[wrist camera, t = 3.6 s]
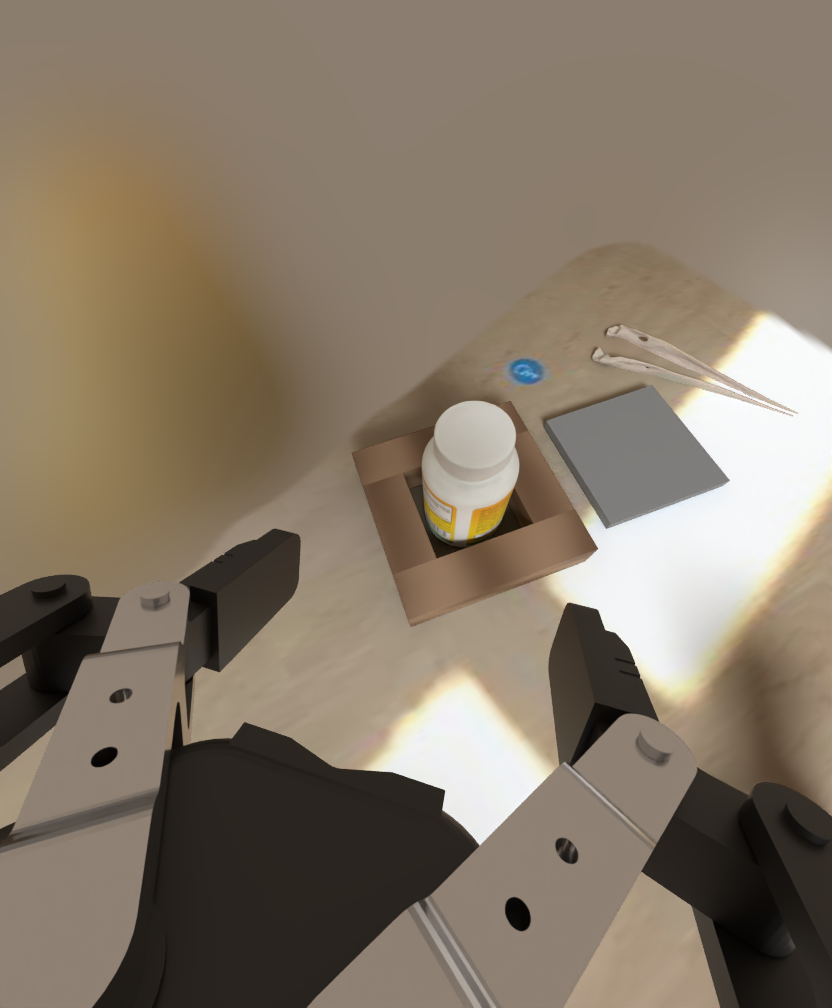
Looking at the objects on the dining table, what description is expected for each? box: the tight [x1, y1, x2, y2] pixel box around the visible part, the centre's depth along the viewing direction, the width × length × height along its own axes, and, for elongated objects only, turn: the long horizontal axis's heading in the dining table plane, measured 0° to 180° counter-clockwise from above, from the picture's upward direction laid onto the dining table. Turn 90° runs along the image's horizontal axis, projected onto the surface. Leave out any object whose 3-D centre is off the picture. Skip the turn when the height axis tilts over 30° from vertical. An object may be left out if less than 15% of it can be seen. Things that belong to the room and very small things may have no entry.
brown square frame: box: [352, 401, 598, 627], centre depth 27 cm, size 12×12×2 cm
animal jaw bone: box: [592, 325, 798, 416], centre depth 32 cm, size 17×5×2 cm, turn 58°
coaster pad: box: [544, 385, 730, 529], centre depth 29 cm, size 9×9×1 cm
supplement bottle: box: [422, 401, 519, 547], centre depth 24 cm, size 5×5×10 cm
